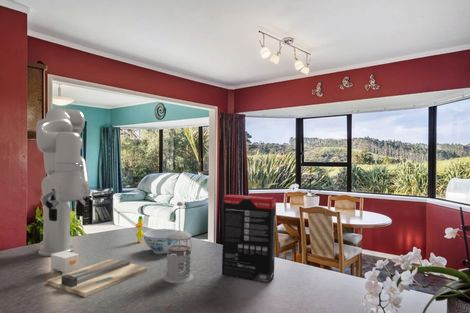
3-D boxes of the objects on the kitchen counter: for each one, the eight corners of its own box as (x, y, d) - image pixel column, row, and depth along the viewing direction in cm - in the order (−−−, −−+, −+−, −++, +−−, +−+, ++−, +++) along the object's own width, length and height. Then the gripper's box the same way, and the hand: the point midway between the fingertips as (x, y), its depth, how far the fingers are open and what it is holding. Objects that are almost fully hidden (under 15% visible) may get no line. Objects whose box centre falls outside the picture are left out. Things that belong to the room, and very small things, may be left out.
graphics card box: (275, 277, 106) (277, 196, 106) (271, 285, 100) (272, 198, 100) (227, 270, 112) (229, 193, 112) (220, 277, 105) (222, 195, 105)
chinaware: (187, 250, 135) (187, 232, 135) (161, 259, 123) (161, 239, 123) (162, 244, 143) (162, 227, 143) (135, 252, 131) (135, 234, 131)
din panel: (47, 283, 98) (47, 272, 98) (111, 261, 119) (111, 252, 119) (85, 297, 89) (85, 284, 89) (146, 270, 110) (146, 260, 110)
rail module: (50, 272, 108) (50, 254, 108) (64, 267, 112) (64, 250, 112) (66, 277, 104) (66, 258, 104) (80, 272, 108) (80, 254, 108)
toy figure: (140, 244, 142) (140, 218, 142) (132, 244, 143) (132, 217, 143) (145, 240, 149) (146, 215, 149) (138, 240, 150) (138, 215, 150)
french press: (157, 280, 102) (158, 202, 102) (176, 268, 113) (177, 198, 113) (183, 285, 98) (185, 204, 99) (201, 272, 109) (202, 200, 109)
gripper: (83, 167, 118) (82, 213, 118) (35, 168, 102) (34, 221, 102) (96, 168, 114) (96, 215, 114) (49, 169, 99) (48, 224, 99)
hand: (66, 218), depth 108 cm, fingers open, 9 cm apart
